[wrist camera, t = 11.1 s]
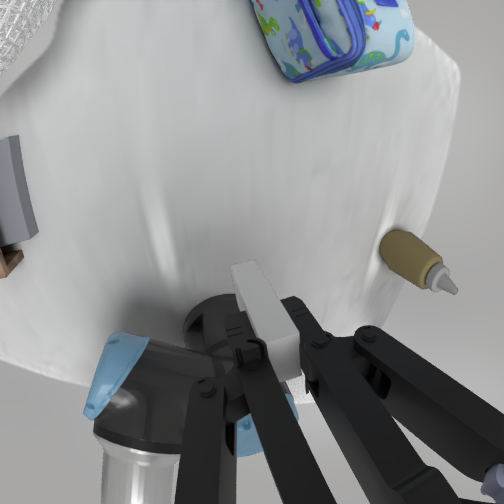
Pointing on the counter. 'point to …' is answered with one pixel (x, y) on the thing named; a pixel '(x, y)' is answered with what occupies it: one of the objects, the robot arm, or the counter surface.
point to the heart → (26, 35)
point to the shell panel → (14, 196)
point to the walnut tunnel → (9, 262)
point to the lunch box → (335, 35)
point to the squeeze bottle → (416, 262)
